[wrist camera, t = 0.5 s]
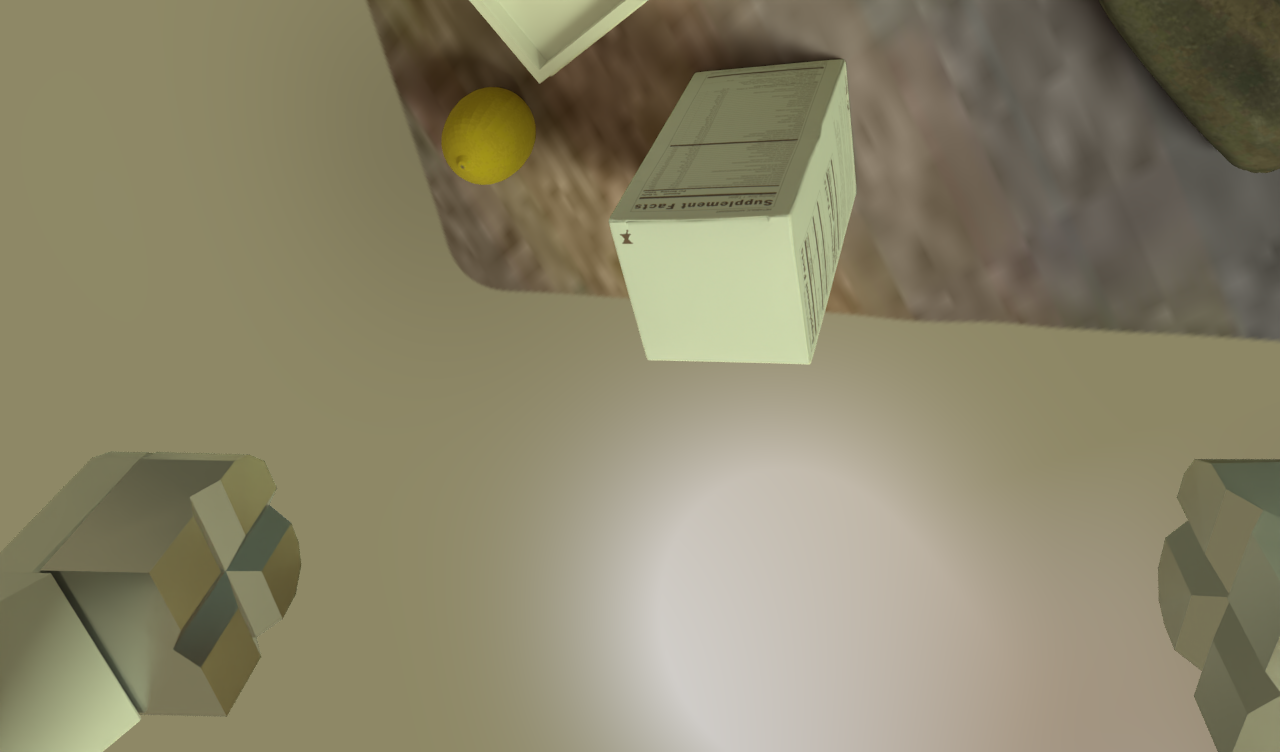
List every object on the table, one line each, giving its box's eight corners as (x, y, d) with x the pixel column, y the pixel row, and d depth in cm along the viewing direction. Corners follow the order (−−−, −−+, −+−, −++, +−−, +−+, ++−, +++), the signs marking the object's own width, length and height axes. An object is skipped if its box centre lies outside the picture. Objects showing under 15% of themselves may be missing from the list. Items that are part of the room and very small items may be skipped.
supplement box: (716, 200, 63) (639, 364, 52) (690, 69, 57) (597, 220, 46) (861, 196, 60) (813, 371, 48) (849, 55, 54) (792, 215, 42)
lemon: (461, 89, 63) (404, 147, 58) (518, 52, 60) (464, 110, 55) (511, 156, 66) (461, 218, 60) (569, 124, 63) (522, 187, 57)
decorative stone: (1369, 89, 47) (1389, 129, 44) (1238, 165, 51) (1248, 206, 49) (1159, -171, 43) (1166, -145, 40) (1036, -64, 47) (1034, -33, 44)
